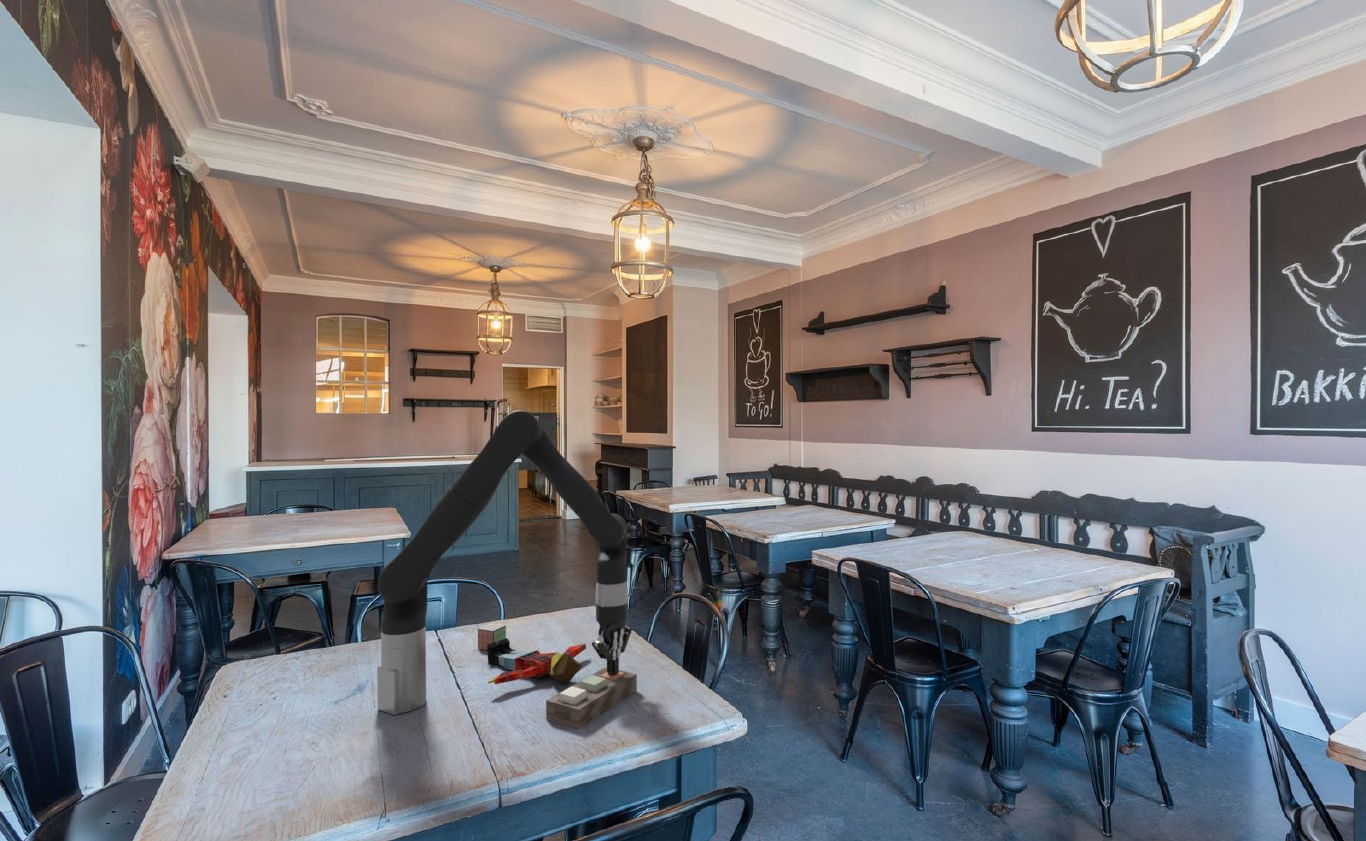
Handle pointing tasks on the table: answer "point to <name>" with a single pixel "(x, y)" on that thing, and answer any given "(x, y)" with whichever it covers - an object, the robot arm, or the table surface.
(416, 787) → the table surface
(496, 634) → the puzzle toy
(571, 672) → the toy
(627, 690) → the button board
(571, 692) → the cream button
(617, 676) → the terracotta button
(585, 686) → the sage button
